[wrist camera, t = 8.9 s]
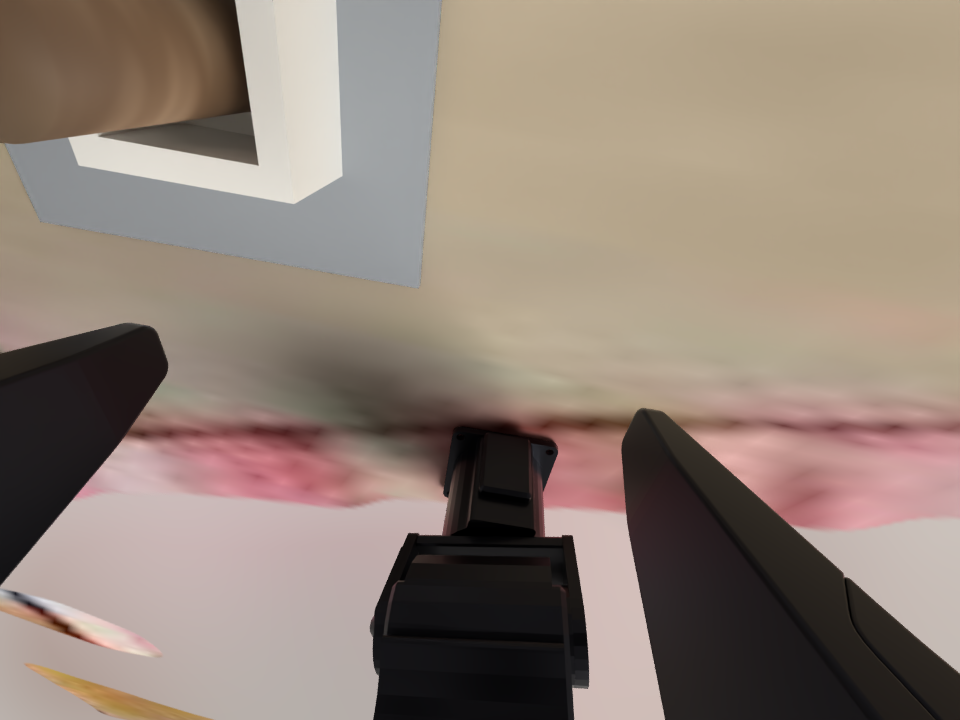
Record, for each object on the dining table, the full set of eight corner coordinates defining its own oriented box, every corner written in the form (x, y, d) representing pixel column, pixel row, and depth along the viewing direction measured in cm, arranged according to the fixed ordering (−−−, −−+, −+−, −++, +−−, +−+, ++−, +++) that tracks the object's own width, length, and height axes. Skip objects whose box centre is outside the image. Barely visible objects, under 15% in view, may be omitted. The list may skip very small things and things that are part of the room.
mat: (420, 284, 20) (418, 288, 20) (48, 219, 20) (40, 221, 20) (446, -54, 13) (444, -57, 13) (-123, -165, 13) (-140, -171, 13)
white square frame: (342, 176, 17) (294, 204, 14) (174, 145, 17) (78, 165, 13) (334, -57, 13) (262, -107, 10) (113, -100, 13) (-47, -167, 9)
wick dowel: (290, 118, 16) (86, 157, 8) (201, 103, 16) (-80, 129, 8) (277, 1, 14) (-2, -81, 6) (176, -16, 14) (-220, -118, 6)
